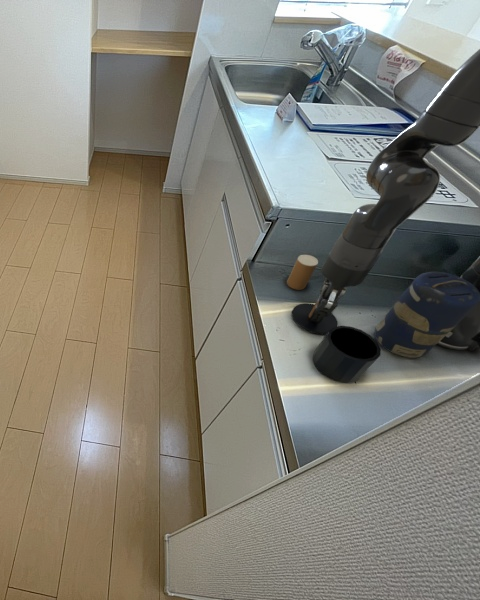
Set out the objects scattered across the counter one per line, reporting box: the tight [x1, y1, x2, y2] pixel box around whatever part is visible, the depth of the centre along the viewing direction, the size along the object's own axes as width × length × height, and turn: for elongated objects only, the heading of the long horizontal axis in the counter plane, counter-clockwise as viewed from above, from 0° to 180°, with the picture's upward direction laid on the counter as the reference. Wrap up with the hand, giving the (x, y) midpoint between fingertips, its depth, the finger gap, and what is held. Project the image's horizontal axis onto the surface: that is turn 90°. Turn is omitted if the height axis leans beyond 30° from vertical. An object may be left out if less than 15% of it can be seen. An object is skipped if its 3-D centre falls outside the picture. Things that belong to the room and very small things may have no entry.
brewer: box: [312, 325, 382, 384], centre depth 70 cm, size 9×9×8 cm
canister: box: [374, 271, 480, 358], centre depth 69 cm, size 10×10×18 cm
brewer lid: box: [291, 299, 339, 335], centre depth 79 cm, size 9×9×6 cm
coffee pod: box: [286, 254, 319, 291], centre depth 88 cm, size 4×4×8 cm
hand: (315, 316), depth 80 cm, fingers open, 3 cm apart
